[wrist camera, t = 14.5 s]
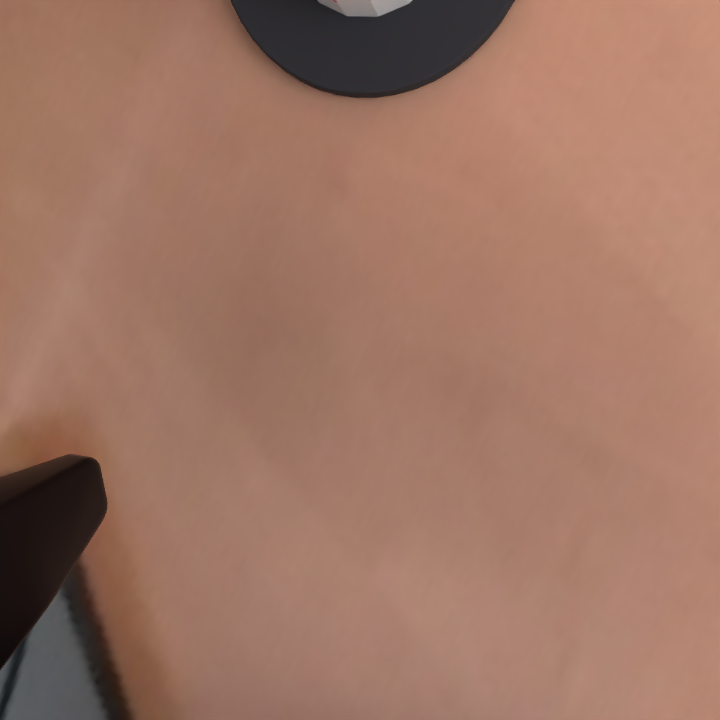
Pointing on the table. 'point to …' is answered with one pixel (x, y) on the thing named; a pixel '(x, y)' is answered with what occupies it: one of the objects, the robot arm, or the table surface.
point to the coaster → (370, 41)
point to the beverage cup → (364, 6)
